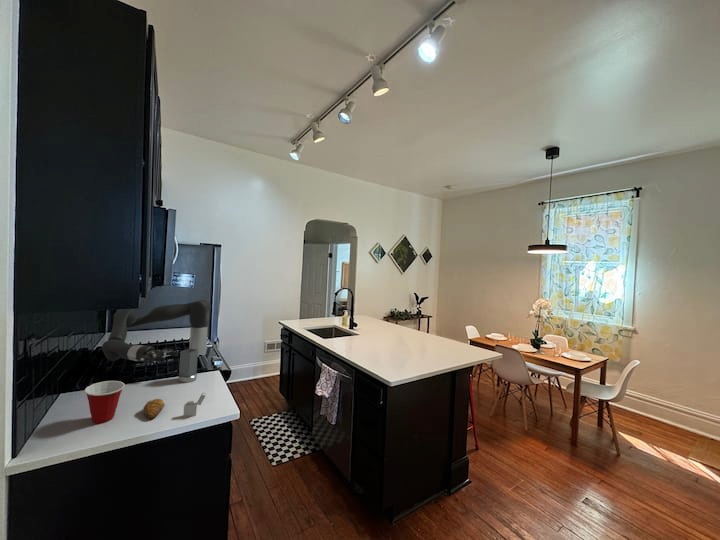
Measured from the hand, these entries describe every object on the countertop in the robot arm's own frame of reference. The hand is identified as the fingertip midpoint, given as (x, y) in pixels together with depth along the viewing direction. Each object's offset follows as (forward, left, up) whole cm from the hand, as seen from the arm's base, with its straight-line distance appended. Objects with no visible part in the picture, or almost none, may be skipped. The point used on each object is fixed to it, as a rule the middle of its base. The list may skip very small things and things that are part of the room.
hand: (171, 356), depth 142 cm
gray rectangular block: (+5, +8, -8) cm, 12 cm away
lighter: (+41, +16, -10) cm, 45 cm away
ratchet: (-1, +7, -10) cm, 12 cm away
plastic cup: (+37, -13, -10) cm, 40 cm away
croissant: (+35, +2, -10) cm, 36 cm away
